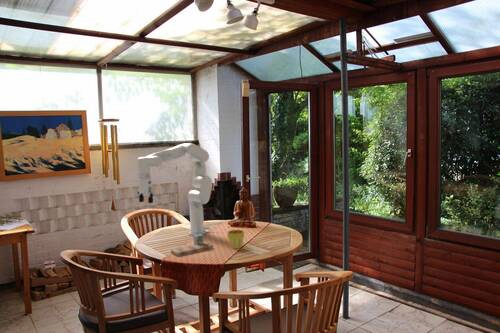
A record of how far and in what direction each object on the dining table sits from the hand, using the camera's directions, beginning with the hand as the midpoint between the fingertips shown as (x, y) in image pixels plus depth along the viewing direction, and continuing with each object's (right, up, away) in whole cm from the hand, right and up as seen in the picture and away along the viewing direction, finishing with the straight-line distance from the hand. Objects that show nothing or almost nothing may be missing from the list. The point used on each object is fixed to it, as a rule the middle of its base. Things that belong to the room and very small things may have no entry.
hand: (146, 202), depth 265 cm
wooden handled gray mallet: (+37, -28, -8) cm, 47 cm away
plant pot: (+59, -27, -10) cm, 66 cm away
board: (+32, -28, -15) cm, 45 cm away
